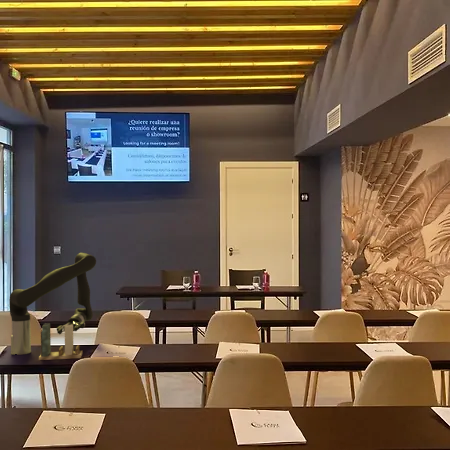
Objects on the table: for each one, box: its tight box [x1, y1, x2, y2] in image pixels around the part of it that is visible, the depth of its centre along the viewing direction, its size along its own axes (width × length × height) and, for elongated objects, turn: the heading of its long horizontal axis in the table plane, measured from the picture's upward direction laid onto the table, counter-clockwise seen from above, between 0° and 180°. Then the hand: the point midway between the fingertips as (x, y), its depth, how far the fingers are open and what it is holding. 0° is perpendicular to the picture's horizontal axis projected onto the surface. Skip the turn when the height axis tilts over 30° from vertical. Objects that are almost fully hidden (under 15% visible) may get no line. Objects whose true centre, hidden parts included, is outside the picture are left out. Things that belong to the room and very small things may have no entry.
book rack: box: [38, 322, 83, 361], centre depth 281 cm, size 20×10×16 cm, turn 99°
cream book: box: [64, 324, 74, 355], centre depth 282 cm, size 4×6×14 cm, turn 9°
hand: (67, 331), depth 292 cm, fingers open, 8 cm apart
